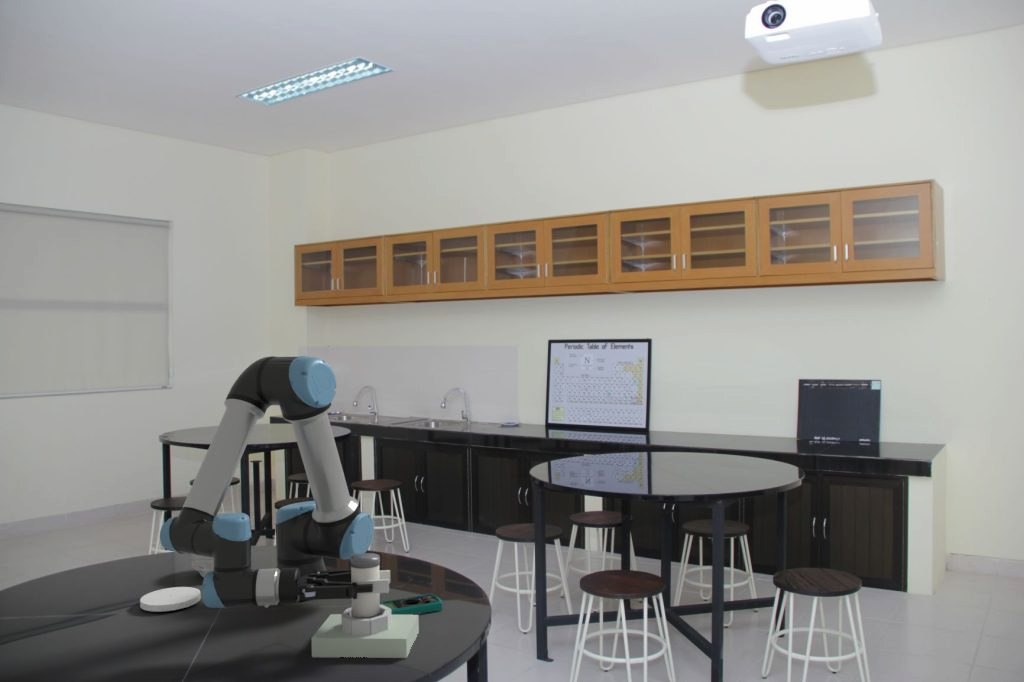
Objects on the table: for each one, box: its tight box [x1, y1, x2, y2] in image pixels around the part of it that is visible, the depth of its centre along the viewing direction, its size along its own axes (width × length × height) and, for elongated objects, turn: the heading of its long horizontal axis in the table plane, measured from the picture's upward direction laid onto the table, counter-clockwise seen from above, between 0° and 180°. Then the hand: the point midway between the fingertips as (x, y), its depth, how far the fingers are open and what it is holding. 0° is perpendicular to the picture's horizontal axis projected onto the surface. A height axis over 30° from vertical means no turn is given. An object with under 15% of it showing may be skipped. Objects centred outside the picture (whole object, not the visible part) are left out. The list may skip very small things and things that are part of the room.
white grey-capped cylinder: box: [350, 552, 381, 617], centre depth 174 cm, size 6×6×12 cm
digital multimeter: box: [380, 593, 443, 615], centre depth 195 cm, size 7×15×3 cm, turn 115°
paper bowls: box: [190, 554, 214, 578], centre depth 227 cm, size 15×15×8 cm
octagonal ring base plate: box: [311, 604, 420, 659], centre depth 174 cm, size 14×20×7 cm
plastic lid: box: [139, 586, 202, 613], centre depth 203 cm, size 14×14×2 cm
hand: (389, 581), depth 175 cm, fingers closed on white grey-capped cylinder, 6 cm apart
